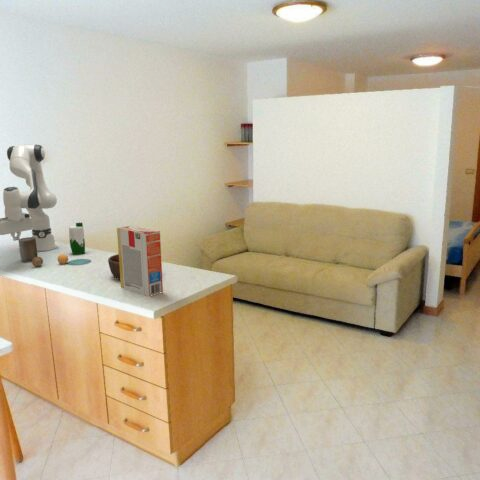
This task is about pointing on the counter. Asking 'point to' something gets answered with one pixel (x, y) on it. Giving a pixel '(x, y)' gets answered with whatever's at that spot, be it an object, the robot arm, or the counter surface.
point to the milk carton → (77, 239)
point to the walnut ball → (37, 261)
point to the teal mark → (79, 262)
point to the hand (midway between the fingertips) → (16, 240)
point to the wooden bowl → (114, 265)
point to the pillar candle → (28, 249)
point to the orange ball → (62, 258)
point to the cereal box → (140, 260)
